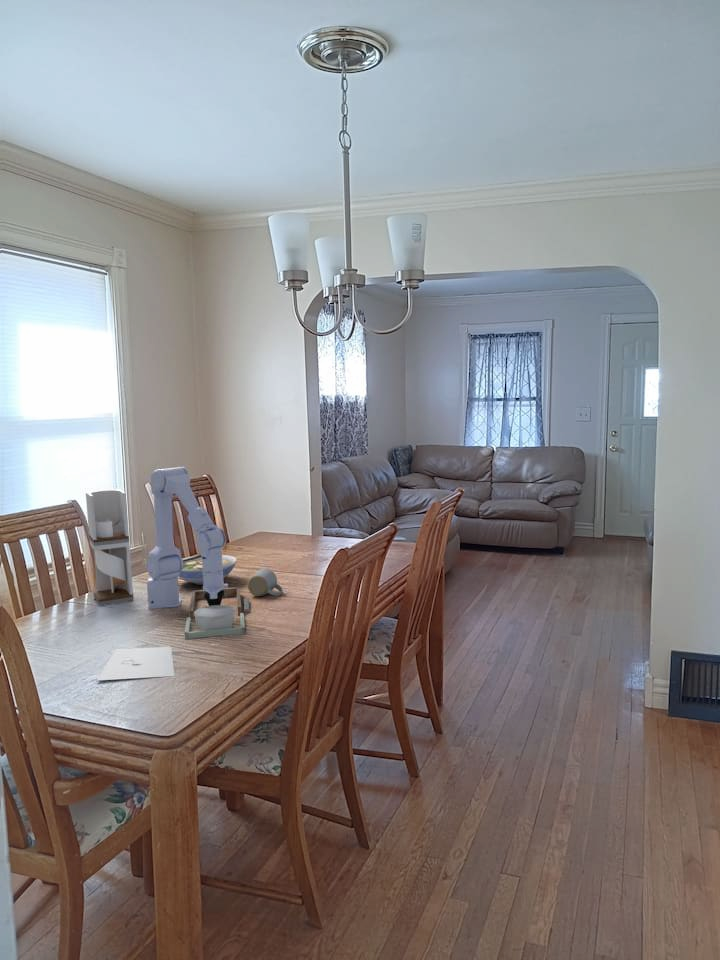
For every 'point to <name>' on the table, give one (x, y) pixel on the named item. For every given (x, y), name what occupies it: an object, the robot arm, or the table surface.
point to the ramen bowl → (194, 568)
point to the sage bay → (214, 632)
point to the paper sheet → (139, 663)
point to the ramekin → (214, 617)
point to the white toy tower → (110, 545)
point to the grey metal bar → (246, 605)
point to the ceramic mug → (264, 583)
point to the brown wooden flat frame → (227, 592)
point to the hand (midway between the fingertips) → (215, 616)
